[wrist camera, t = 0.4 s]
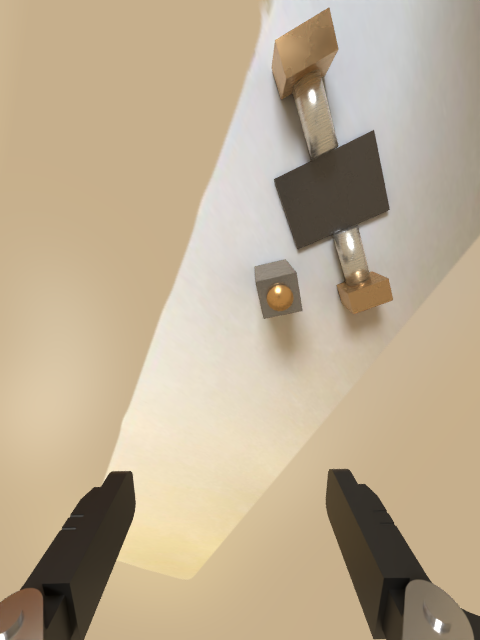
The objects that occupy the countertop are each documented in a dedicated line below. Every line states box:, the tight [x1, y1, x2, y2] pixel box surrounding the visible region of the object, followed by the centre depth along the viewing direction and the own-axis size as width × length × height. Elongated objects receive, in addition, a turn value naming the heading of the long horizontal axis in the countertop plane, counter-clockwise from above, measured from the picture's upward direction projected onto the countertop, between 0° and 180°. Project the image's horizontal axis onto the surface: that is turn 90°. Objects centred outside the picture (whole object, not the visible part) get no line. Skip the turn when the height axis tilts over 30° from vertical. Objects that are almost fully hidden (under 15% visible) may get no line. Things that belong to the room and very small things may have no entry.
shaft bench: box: [272, 8, 393, 314], centre depth 29 cm, size 29×12×4 cm, turn 24°
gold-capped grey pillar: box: [255, 259, 302, 319], centre depth 31 cm, size 4×4×10 cm
